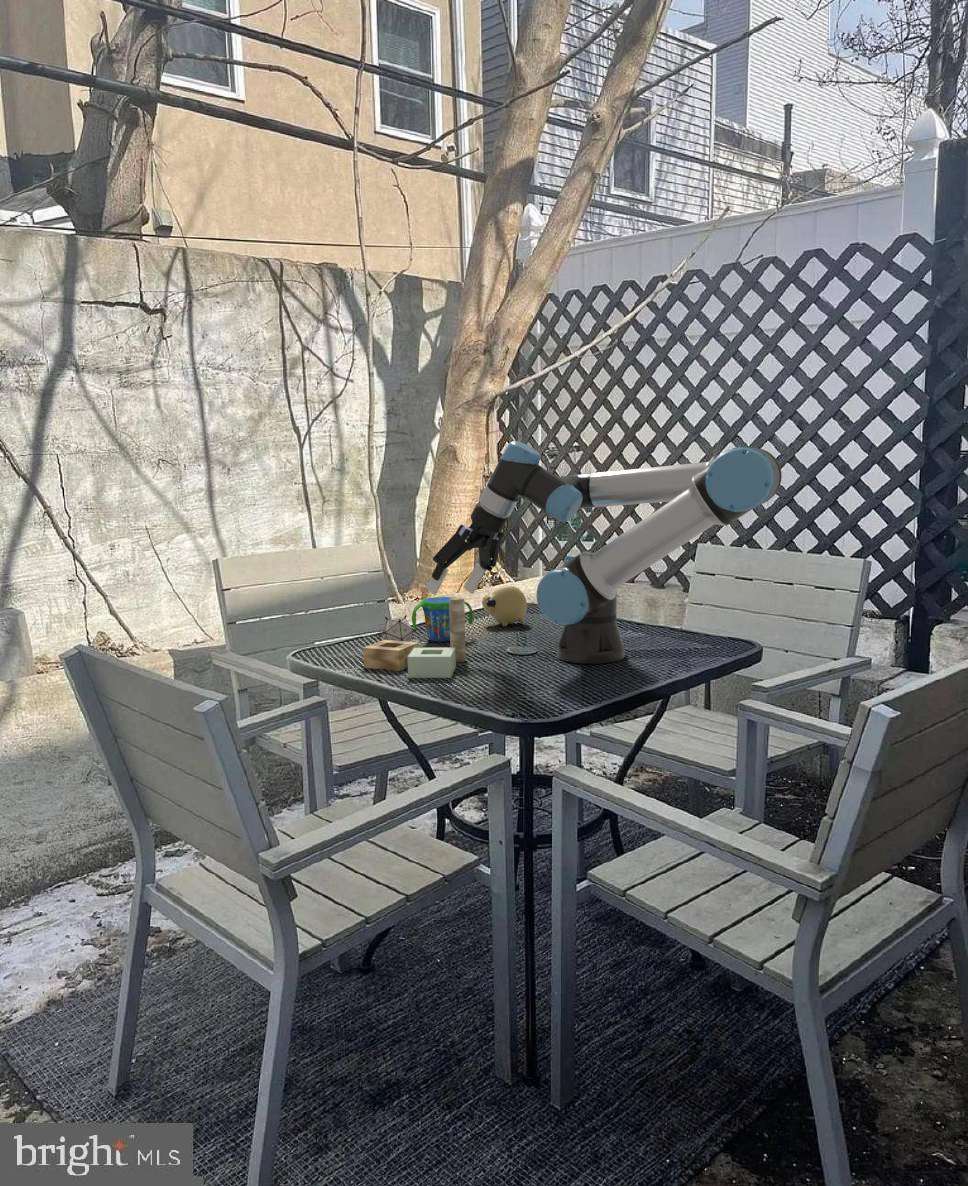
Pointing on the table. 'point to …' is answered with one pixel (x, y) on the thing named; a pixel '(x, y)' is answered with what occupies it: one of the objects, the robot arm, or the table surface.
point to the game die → (397, 630)
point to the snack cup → (437, 617)
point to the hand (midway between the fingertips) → (449, 591)
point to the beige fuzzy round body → (506, 605)
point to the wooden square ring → (388, 654)
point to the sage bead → (431, 663)
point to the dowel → (457, 628)
